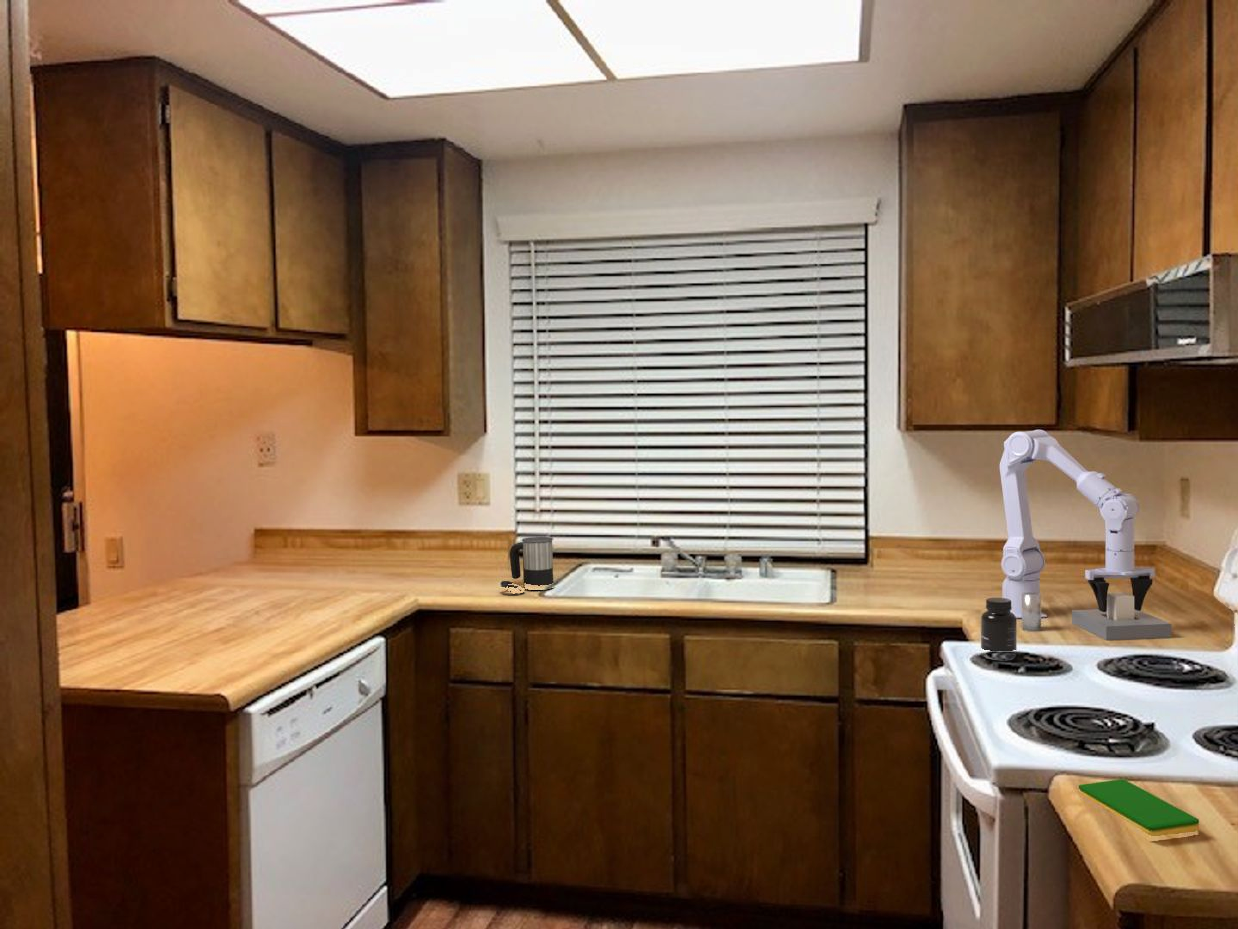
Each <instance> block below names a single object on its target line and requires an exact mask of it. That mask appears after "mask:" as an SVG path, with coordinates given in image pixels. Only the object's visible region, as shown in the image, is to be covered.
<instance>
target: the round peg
mask: <svg viewBox="0 0 1238 929" xmlns="http://www.w3.org/2000/svg"><path fill="white" fill-rule="evenodd" d="M1041 612H1042V594H1041V593H1040V594H1039V593H1031V592H1028V593H1022V618H1021V630H1023V629H1024V630H1023V631H1025V630H1027V631H1026V632H1040V631H1042V617H1041Z"/></svg>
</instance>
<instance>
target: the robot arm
mask: <svg viewBox="0 0 1238 929" xmlns="http://www.w3.org/2000/svg"><path fill="white" fill-rule="evenodd" d="M1003 448H1004V450H1003V453H1002V456H1001V459H1000V462H999V473H1000V481H1001V490H1002V498H1003V506H1004V513H1005V520H1006V521H1005V522H1006V523H1005V524H1006V528H1007V538H1008V539H1007V541H1006V542H1005V544H1004V546H1002V547H1003V548H1002V553H1003V554H1002V555H1003V556H1002V558H1001V562H1000V566H1001V570H1002V572H1003V573H1004V575H1005V576H1006V577H1005V579H1004V580H1003V582H1002V585H1001V586H1002V587H1001V588H1002V589H1001V591H1002V592H1001V595H1002V597H1001V598H1006V599H1010V600H1011V607H1012V609H1011V610H1010V612H1011V613H1013V614H1014V615H1015V616H1016V619H1022V593H1028V592H1031V593H1039V594H1041V579H1040V578H1041V572H1042V571H1043V569H1044V568H1045V567H1046V559H1045V555H1044V554H1043V552H1042V550H1041V547H1040V542H1039V541H1038V540H1037V539H1036V538H1035V537H1034V536H1033V526H1032V518H1031V512H1030V503H1029V496H1028V488H1027V480H1026V473H1025V472H1026V470H1027V469H1028V468H1029V467H1030V466H1031V465H1033V463H1034V461H1036V460H1040V461H1046V462H1047V461H1048V462H1050V464H1052V465H1053V466H1055V467H1056V468H1057V469H1059V470H1060V471H1061V472H1063V473H1064V474H1065V475H1067V476H1068V477H1069V478H1070V479H1071V480H1073V481H1075V484H1076V490H1077V491H1078V492H1079V493H1080V494H1082V496H1084V497H1085V498H1086V499H1087V500H1089V502H1091V503H1092V504H1093V505H1094V506H1095V507H1096V508H1098V509H1099V513H1100V515H1101V518H1102V519H1103V520H1104V521H1105V523H1104V524H1105V531H1104V532H1105V567H1101V568H1095V569H1093V568H1092V569H1085V571H1084V574H1085V575H1084V577H1085V580H1087V583H1088V585H1089V586H1090V588H1091V589H1092V591H1093V595H1094V596H1095V599H1096V602H1097V603H1096V604H1097V608H1098V609H1099V611H1102V612H1107V593H1109V592H1108V591H1109V587H1110V583H1109V582H1107V581H1106V580H1107V579H1130V585H1131V588H1132V589H1131V590H1132V596H1134V609H1135V610H1137V611H1142V607H1143V605H1144V604H1143V603H1144V600H1145V597H1146V595H1147V593H1148V591H1149V589H1150V588H1151V586H1152V585H1153V579H1152V578H1155V577H1156V576H1155V574H1156V572H1155V570H1156V569H1155V568H1153V567H1147V566H1145V567H1142V566H1141V567H1139V566H1137V567H1136V566H1135V517H1136V516H1137V515H1138V513H1139V511H1140V505H1139V502H1138V501H1137V499H1136V498H1135V497H1134V496H1133V495H1132V494H1130V493H1123V490H1122V489H1121V488H1119V487H1115V485H1113V484H1112V483H1111V482H1109V480H1107V479H1106V477H1107V475H1106V474H1104V473H1103V472H1098V471H1096V470H1095V471H1094V470H1093V471H1088V470H1087V468H1085V467H1084V466H1083V465H1081V463H1080V462H1078V461H1077V460H1076V459H1075V458H1074V456H1072V455H1071V454H1070V453H1069V452H1068V451H1067V450H1066V449H1065V448H1064V447H1062V446H1061V445H1060V443H1059V442H1058V440H1057V439H1056V437H1055V438H1054V437H1053V436H1051V435H1050V434H1049V433H1048V432H1046V431H1045V430H1043V429H1035V430H1029V431H1028V430H1027V431H1016V432H1013V433H1011V435H1009V437H1008V438H1007V439H1005V441H1004V442H1003ZM1046 617H1048V616H1047V614H1045V613H1044V612H1042V611H1041V618H1046Z"/></svg>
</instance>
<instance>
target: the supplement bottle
mask: <svg viewBox="0 0 1238 929" xmlns="http://www.w3.org/2000/svg"><path fill="white" fill-rule="evenodd" d="M985 609H986V610H985V611H984V612H982V614H981V616H980V649H981V648H982V649H984V650H990V651H1013V650H1017V648H1018V647H1017V643H1018V642H1017V641H1018V640H1017V639H1018V637H1017V634H1018V633H1017V632H1018V631H1017V628H1018V627H1017V624H1018V623H1017V622H1018V621H1017V619H1018V618H1016V616H1015V615H1014V614H1013V613H1011V612H1010V610H1011V609H1012V607H1011V600H1010V599H1006V598H1002V597H988V598H987V599H986V600H985ZM1017 651H1018V650H1017Z"/></svg>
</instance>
